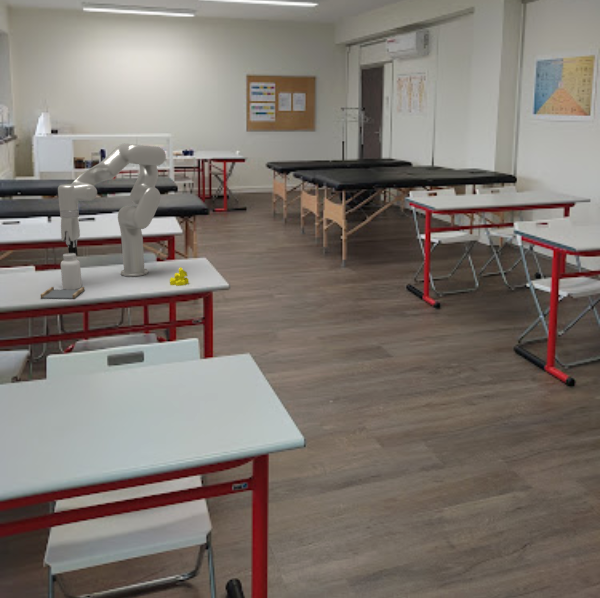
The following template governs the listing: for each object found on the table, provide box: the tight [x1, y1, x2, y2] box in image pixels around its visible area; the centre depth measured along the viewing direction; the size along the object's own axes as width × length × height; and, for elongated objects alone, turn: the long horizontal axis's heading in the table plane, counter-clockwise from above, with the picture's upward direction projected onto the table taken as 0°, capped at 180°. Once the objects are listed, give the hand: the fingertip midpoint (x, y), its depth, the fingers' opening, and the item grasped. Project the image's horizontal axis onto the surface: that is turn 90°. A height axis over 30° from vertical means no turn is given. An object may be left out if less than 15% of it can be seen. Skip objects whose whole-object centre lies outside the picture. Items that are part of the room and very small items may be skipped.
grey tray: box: [42, 289, 86, 300], centre depth 284 cm, size 12×14×1 cm
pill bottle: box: [60, 252, 83, 290], centre depth 293 cm, size 8×8×15 cm
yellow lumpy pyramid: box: [169, 267, 190, 287], centre depth 300 cm, size 6×8×8 cm
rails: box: [40, 286, 86, 300], centre depth 284 cm, size 12×14×2 cm
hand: (73, 255), depth 296 cm, fingers closed
